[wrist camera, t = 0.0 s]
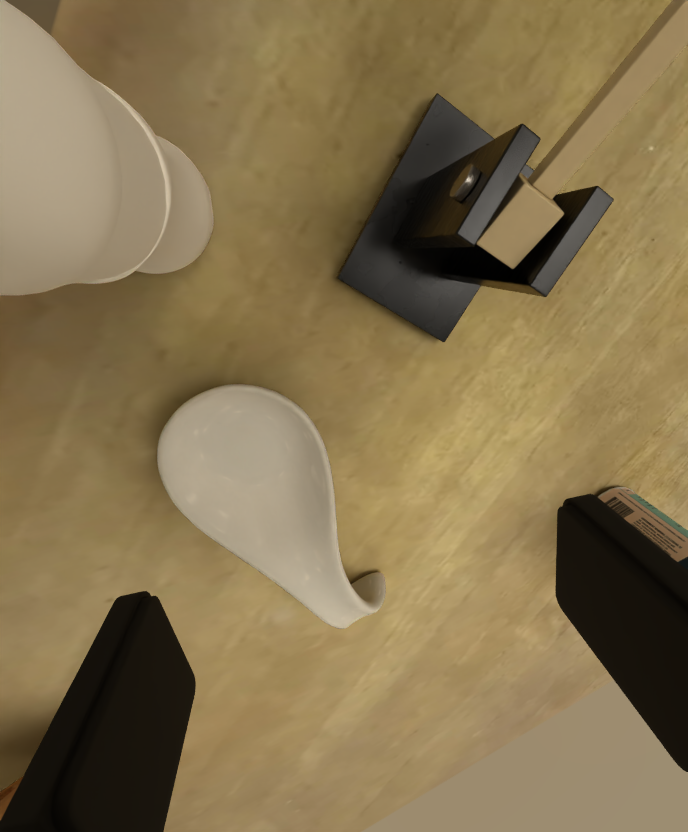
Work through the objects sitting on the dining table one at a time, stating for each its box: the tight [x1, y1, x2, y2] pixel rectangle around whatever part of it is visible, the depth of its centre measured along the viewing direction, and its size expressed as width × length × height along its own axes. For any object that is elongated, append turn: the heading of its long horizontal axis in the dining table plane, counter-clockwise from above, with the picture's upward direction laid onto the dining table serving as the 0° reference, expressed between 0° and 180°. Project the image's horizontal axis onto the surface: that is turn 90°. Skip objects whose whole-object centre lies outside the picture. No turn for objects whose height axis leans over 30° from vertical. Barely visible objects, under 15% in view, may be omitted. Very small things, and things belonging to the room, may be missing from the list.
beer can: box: [598, 487, 688, 570], centre depth 33 cm, size 5×5×12 cm
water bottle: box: [0, 0, 214, 295], centre depth 15 cm, size 7×7×25 cm
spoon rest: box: [157, 384, 386, 629], centre depth 32 cm, size 24×12×7 cm, turn 33°
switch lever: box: [476, 0, 688, 269], centre depth 15 cm, size 13×3×3 cm, turn 150°
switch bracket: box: [336, 93, 614, 342], centre depth 22 cm, size 12×9×13 cm
